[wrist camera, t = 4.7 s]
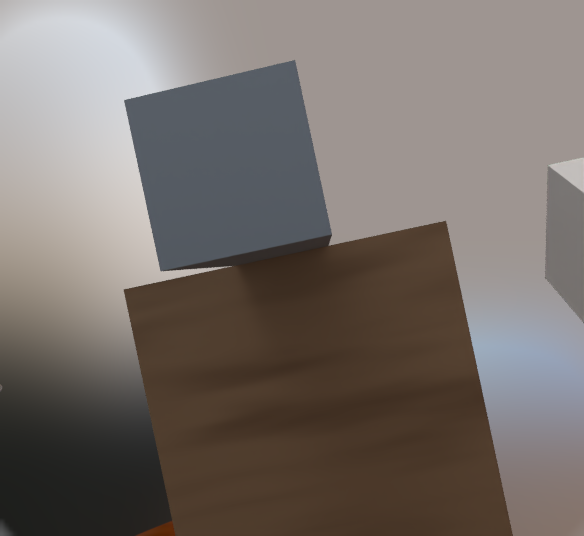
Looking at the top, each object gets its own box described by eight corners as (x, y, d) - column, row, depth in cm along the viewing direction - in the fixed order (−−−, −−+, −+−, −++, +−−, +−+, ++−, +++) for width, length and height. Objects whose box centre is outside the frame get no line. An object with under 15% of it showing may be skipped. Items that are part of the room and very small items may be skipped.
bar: (332, 234, 13) (295, 59, 13) (160, 271, 13) (124, 100, 13) (326, 251, 42) (315, 200, 42) (275, 262, 43) (264, 211, 43)
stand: (595, 926, 23) (445, 219, 23) (267, 971, 24) (123, 288, 24) (470, 618, 43) (389, 239, 43) (293, 649, 44) (214, 276, 44)
